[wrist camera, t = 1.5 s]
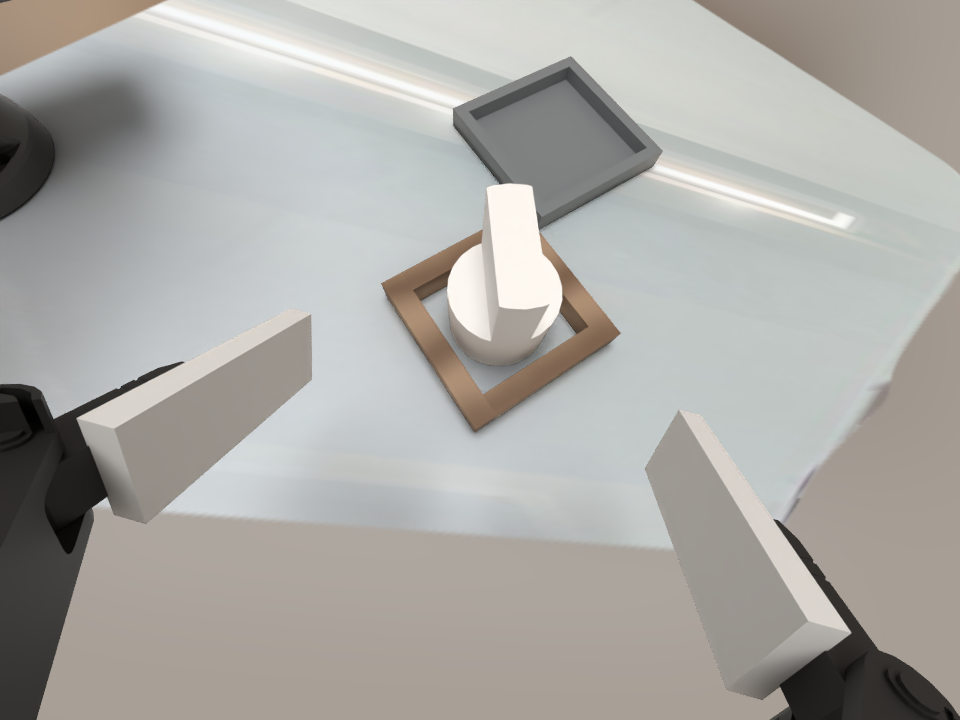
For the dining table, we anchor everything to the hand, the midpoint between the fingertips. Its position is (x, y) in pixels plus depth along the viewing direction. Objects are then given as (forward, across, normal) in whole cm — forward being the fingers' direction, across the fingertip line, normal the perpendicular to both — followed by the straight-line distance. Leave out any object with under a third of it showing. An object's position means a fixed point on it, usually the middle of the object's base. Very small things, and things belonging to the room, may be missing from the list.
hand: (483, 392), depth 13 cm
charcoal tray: (+36, 0, +11) cm, 38 cm away
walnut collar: (+21, 0, -5) cm, 21 cm away
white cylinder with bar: (+21, 0, -5) cm, 22 cm away
